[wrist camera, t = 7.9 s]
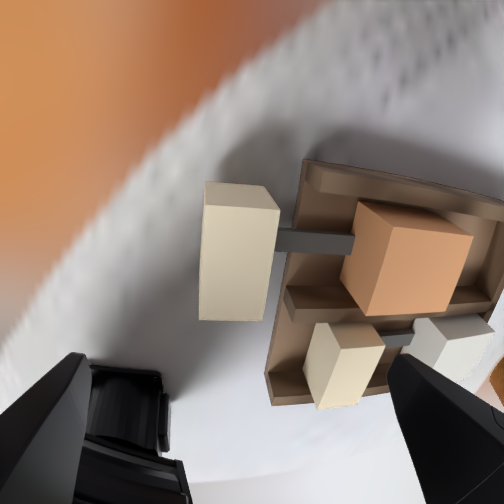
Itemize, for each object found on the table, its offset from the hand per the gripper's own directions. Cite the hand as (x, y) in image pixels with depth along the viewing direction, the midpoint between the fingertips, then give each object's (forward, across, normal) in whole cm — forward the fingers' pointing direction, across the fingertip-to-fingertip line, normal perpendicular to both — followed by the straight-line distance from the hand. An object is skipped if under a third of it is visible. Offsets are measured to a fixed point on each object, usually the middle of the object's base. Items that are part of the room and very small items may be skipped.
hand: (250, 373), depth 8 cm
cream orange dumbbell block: (+10, -6, 0) cm, 12 cm away
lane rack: (+11, -13, +4) cm, 18 cm away
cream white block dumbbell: (+10, -14, +8) cm, 19 cm away
